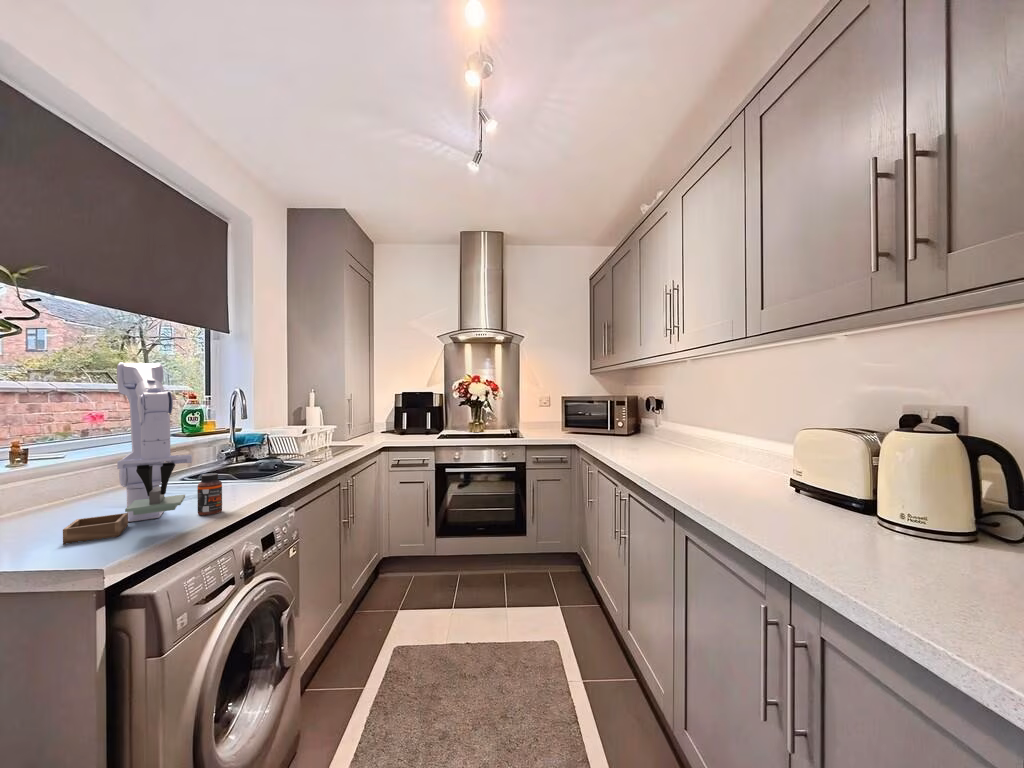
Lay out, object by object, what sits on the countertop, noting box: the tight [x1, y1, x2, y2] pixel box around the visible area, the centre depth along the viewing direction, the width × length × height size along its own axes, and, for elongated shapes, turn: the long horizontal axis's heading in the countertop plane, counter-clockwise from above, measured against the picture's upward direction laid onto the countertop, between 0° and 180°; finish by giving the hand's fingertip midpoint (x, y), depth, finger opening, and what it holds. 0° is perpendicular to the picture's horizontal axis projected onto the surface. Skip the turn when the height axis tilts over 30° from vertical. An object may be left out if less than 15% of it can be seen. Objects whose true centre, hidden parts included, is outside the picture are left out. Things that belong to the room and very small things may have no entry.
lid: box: [124, 486, 186, 515], centre depth 112 cm, size 10×10×5 cm
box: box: [62, 512, 129, 545], centre depth 112 cm, size 10×10×4 cm
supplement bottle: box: [197, 472, 223, 516], centre depth 130 cm, size 6×6×11 cm
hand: (156, 494), depth 112 cm, fingers closed on lid
